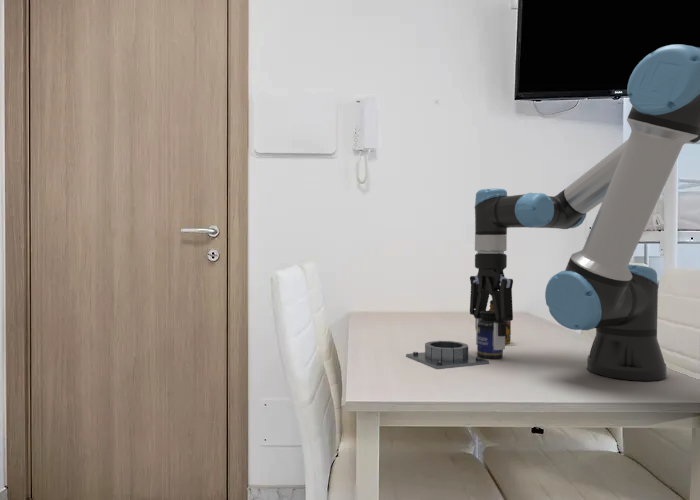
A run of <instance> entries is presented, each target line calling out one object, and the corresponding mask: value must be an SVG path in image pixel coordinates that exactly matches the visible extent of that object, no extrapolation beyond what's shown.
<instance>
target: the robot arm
mask: <svg viewBox="0 0 700 500" xmlns="http://www.w3.org/2000/svg"><path fill="white" fill-rule="evenodd" d="M626 91H627V92H626V93H627V96H628V98H629V103H630V104H631V109H630V110H629V113H628V115H627V118H626V121H627V123H628V125H629V127H630V131H631V132H630V135H629V137H628V139H627V140H625V141H624V142H623V143H621V145H619V146H618V147H617V148H615V149H614V150H613V151H611V152H610V153H608V154H607V155H606V156H605V157H603V159H601V160H600V161H598V163H596V164H595V165H594V166H592V167H591V168H589V170H587V171H586V172H584V173H583V174H582V175H581V176H580V177H578V178H577V179H576V180H574V181H573V182H572V183H571V184H569V185H568V186H567V187H565V188H564V189H563V190H561V191H560V192H559V193H558V194H556V195H555V196H550V195H547V194H545V193H543V192H535V193H534V192H528V193H522V194H517V195H516V194H515V195H508V192H507V190H506V189H505V188H483V189H482V188H481V189H478V191H477V192H476V194H475V201H474V215H475V216H474V219H475V222H474V224H475V225H474V229H475V230H474V231H475V232H474V251H475V252H477V253H475V254H474V268H476V269H477V271H478V272H477V275H471V276H470V277H469V282H470V295H469V296H470V297H469V298H470V299H469V314H470V315H473V317H474V318H475V335H476V336H475V337H476V338H475V345H476V346H477V332H478V331H477V330H478V322H479V321H481V320H482V318H481V311H487V308H488V303H489V300H490V299H489V298H490V297H491V300H492V301H493V306H494V311H495V317H496V320H495V321H494V350H503V351H504V350H505V349H506V345H505V336H506V323H507V322H508V321H511V322H512V321H513V320H514V315H513V314H514V312H513V290H512V289H513V285H514V280H513V278H507V277H506V276H505V273H504V270H505V269H507V265H508V262H507V261H508V260H507V259H508V257H507V256H508V255H507V254H506V253H505V252H507V249H508V247H507V243H508V242H507V239H508V238H507V237H508V236H507V235H508V228H510V229H511V228H534V229H538V228H539V229H540V228H541V229H560V230H568V229H575V228H577V227H580V225H582V224H583V223H584V221H585V219H586V216H587V213H589V212H590V211H591V210H593V209H595V208H596V207H597V206H599V205H600V204H601V205H600V207H599V209H598V212H597V214H596V216H595V218H594V221H593V224H592V226H591V228H590V231H589V232H588V236H587V237H586V241H585V242H584V245H583V248H582V249H581V250H579V251H577V252H576V251H575V252H574V253H572V254H570V255H571V256H570V257H569V259H568V262H567V265H566V267H565V269H564V270H561V271H559V272H558V273H556V274H553V276H552V277H550V279H549V280H548V282H547V284H546V287H545V293H544V294H545V297H544V298H545V299H544V300H545V304H546V306H547V308H548V311H549V313H550V315H551V316H552V318H553V319H554V320H555V321H556V322H557V323H558V324H559V325H561V326H562V327H565V328H567V329H569V330H574V331H580V330H581V331H589V330H593V329H595V337H594V339H593V342H592V344H591V347H590V351H589V355H587V359H586V369H587V370H588V371H589V372H591V373H593V374H596V375H600V376H602V377H608V378H613V379H620V380H625V381H642V382H643V381H647V382H648V381H659V380H663V379H664V380H665V379H666V378H667V376H668V375H667V370H668V369H667V364H666V362H665V359H664V355H663V353H662V349H661V347H660V343H659V341H658V305H659V304H658V301H659V297H658V295H659V294H658V293H659V288H660V287H659V283H658V274H657V271H656V270H655V269H654V268H652V267H650V266H644V265H638V264H630V262H631V260H632V258H633V255H634V254H635V251H636V249H637V247H638V245H639V242H640V240H641V239H642V236H643V235H644V232H645V229H646V227H647V225H648V222H649V220H650V219H651V216H652V214H653V212H654V210H655V208H656V206H657V203H658V201H659V199H660V197H661V194H662V192H663V190H664V188H665V185H666V184H667V181H668V180H669V179H668V178H669V177H670V174H671V173H672V171H673V169H674V166H675V164H676V162H677V159H678V158H679V155H680V153H681V151H682V149H683V146H684V145H686V144H692V145H693V144H697V142H699V141H700V47H697V46H693V45H687V44H679V43H678V44H669V45H665V46H661V47H659V48H657V49H656V50H654V51H652V52H650V53H648V54H647V55H646V56H644V57H643V59H641V60H640V61H639V62H638V64H637V65H636V66H635V67H634V69H633V70H632V73H631V74H630V76H629V79H628V83H627V89H626ZM507 315H508V316H507Z"/></svg>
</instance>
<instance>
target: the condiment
mask: <svg viewBox="0 0 700 500" xmlns="http://www.w3.org/2000/svg"><path fill="white" fill-rule="evenodd" d="M488 311H494V306H493V301H492V299H491V300H490V301H489V309H488ZM507 316H508V315H507ZM511 322H512V321H508V322H507V323H506V336H505V346H517V345H516V343H512V342H511V341H512V340H511V337H512V336H511V334H512V332H511V331H512V330H511V328H512V327H511V326H512V325H511V324H512V323H511Z"/></svg>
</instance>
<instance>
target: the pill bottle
mask: <svg viewBox="0 0 700 500" xmlns="http://www.w3.org/2000/svg"><path fill="white" fill-rule="evenodd" d="M481 318H482V320H481V321H479V322H478V330H477V331H478V332H477V345H476V348H477V349H476V355H477V357H481V359H486V360H488V359H489V360H497V359H498V360H499V359H502V358H503V355H504V350H494V321H495V320H496V317H495V311H489V310H486V311H481Z"/></svg>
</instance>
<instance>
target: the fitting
mask: <svg viewBox="0 0 700 500" xmlns="http://www.w3.org/2000/svg"><path fill="white" fill-rule="evenodd" d="M405 356H406V358H409V359H412V360H413V361H417V362H420V363H422V364H424V365H426V366H429V367H431V368H434V369H437V370H439V369H440V370H441V369H448V368H458V367H469V366H479V365H487V364H490V361H489V360H488V359H486V358H482V357H479V356H475V355H471V354H469V345H468V344H467V343H464V342H460V341H451V340H432V341H431V340H430V341H428V342H425V343H424V351H423V352H418V351H413V352H412V353H406V354H405Z"/></svg>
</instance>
